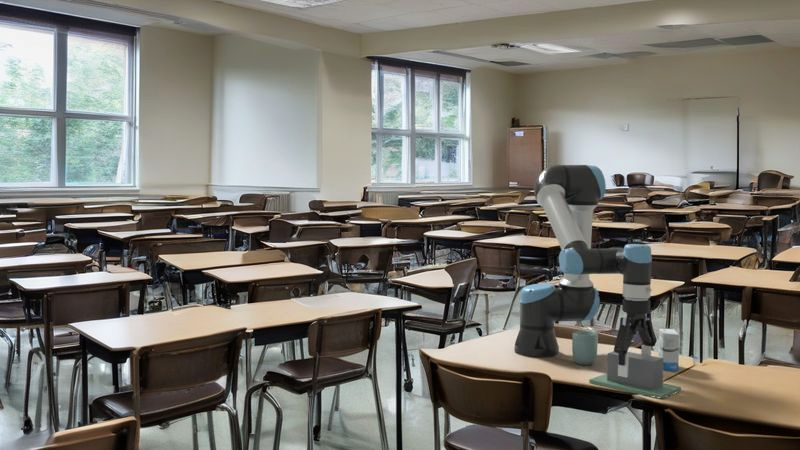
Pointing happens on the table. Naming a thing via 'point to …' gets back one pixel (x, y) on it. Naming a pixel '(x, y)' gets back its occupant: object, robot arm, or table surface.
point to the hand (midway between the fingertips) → (634, 372)
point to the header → (658, 392)
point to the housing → (637, 370)
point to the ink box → (669, 349)
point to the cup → (584, 347)
